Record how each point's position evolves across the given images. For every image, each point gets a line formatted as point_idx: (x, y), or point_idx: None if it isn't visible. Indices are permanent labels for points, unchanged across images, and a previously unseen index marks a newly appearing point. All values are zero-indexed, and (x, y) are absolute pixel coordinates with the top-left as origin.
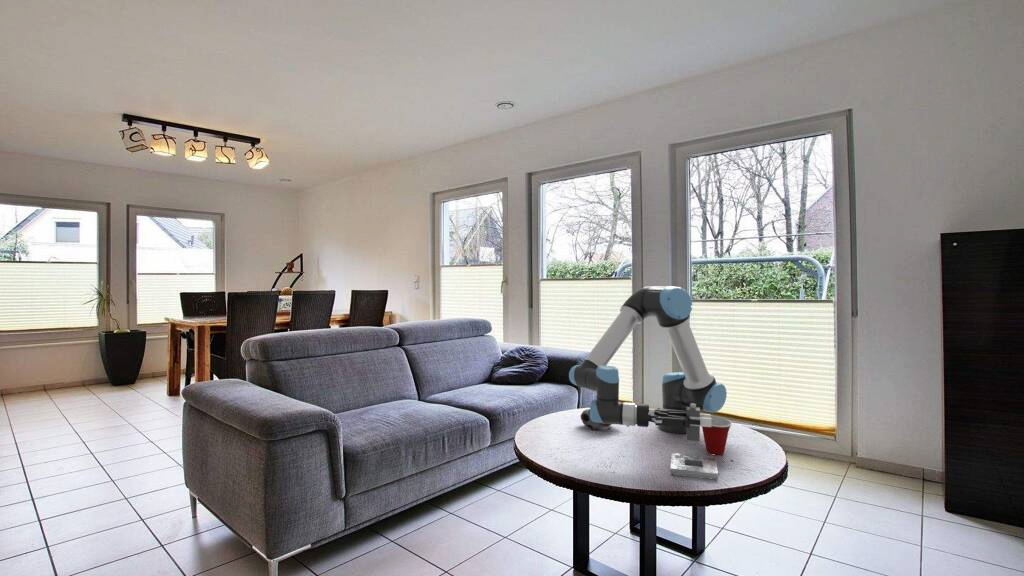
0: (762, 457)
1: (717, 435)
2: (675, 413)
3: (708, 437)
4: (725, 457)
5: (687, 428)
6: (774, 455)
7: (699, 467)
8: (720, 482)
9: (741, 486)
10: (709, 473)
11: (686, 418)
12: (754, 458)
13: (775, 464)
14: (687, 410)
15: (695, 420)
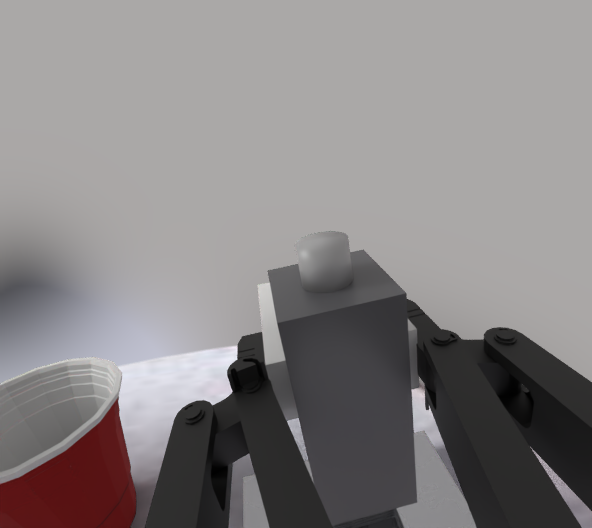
0: (148, 384)
1: (118, 435)
2: (315, 492)
3: (94, 492)
4: (157, 474)
5: (409, 430)
6: (129, 367)
7: (411, 514)
8: (441, 437)
9: (421, 384)
10: (441, 462)
11: (461, 344)
12: (159, 398)
13: (201, 356)
14: (401, 296)
15: (423, 313)
